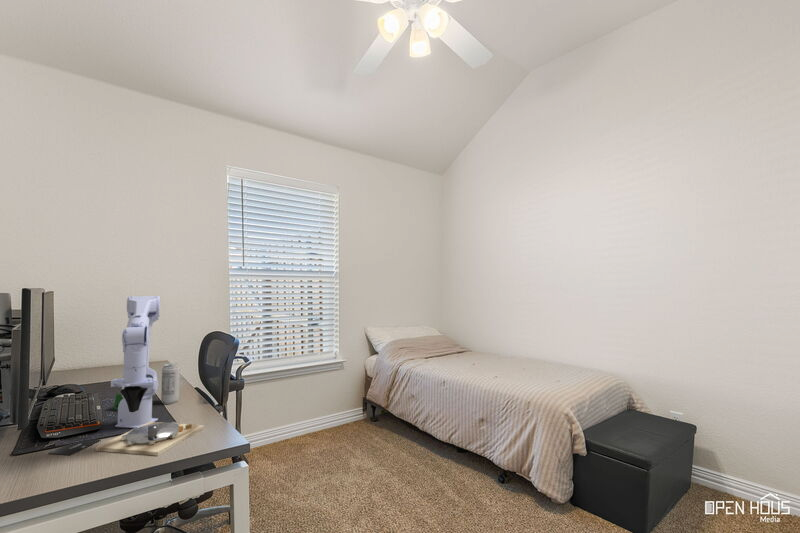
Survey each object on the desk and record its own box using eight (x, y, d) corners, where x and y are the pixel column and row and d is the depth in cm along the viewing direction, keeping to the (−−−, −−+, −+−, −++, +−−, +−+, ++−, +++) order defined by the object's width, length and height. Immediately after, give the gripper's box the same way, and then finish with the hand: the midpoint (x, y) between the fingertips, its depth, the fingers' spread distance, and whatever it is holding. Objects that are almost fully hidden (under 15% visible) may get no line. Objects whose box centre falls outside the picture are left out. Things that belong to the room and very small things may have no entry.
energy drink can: (182, 400, 158) (182, 363, 158) (172, 405, 152) (172, 366, 152) (168, 399, 159) (169, 362, 159) (157, 404, 153) (158, 365, 153)
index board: (95, 450, 112) (95, 442, 112) (149, 424, 132) (149, 418, 132) (158, 455, 110) (158, 447, 110) (203, 428, 129) (203, 421, 129)
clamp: (145, 419, 149) (158, 396, 151) (133, 421, 143) (147, 397, 145) (122, 404, 151) (135, 382, 153) (109, 406, 146) (123, 383, 148)
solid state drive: (101, 442, 119) (101, 439, 119) (69, 457, 109) (69, 454, 109) (81, 440, 120) (81, 438, 120) (47, 455, 110) (47, 452, 110)
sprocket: (118, 450, 110) (118, 433, 110) (125, 430, 124) (125, 416, 124) (183, 438, 118) (183, 423, 118) (183, 421, 132) (183, 408, 132)
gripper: (102, 368, 116) (101, 414, 116) (146, 370, 114) (145, 417, 114) (122, 362, 123) (121, 406, 123) (163, 365, 121) (163, 409, 121)
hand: (133, 411), depth 119 cm, fingers closed
